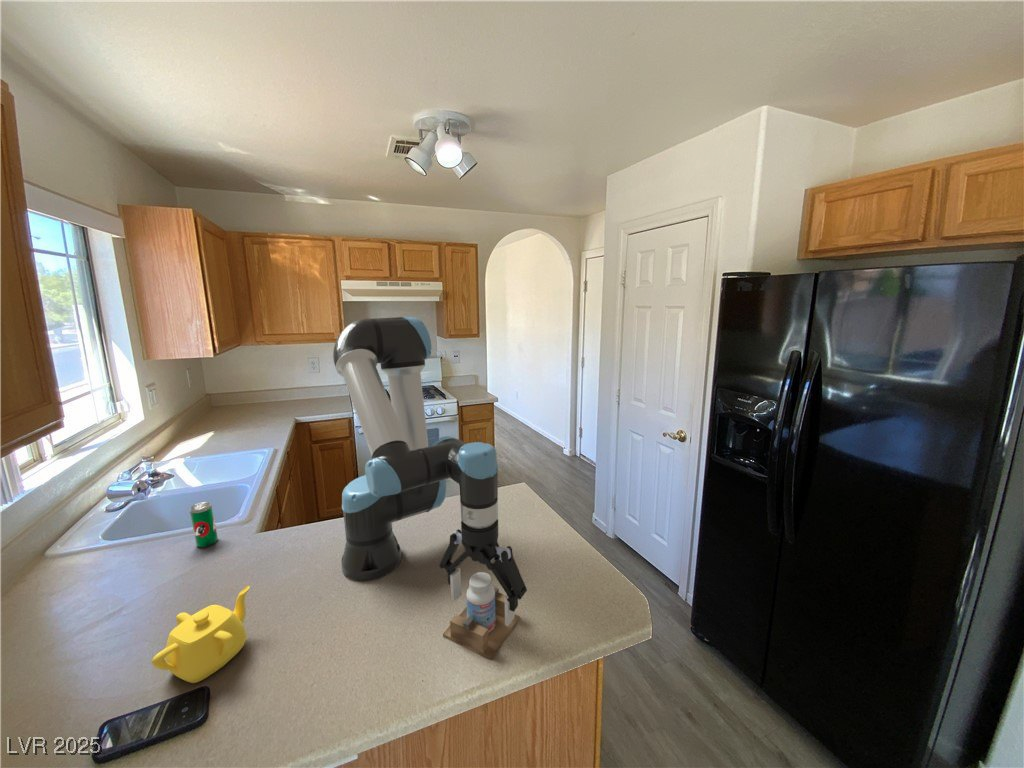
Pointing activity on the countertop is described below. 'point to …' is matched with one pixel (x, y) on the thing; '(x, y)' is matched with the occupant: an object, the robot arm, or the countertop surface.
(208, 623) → the teapot
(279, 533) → the countertop surface
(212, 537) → the soda can
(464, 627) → the clip stand
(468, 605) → the pill bottle
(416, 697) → the countertop surface
